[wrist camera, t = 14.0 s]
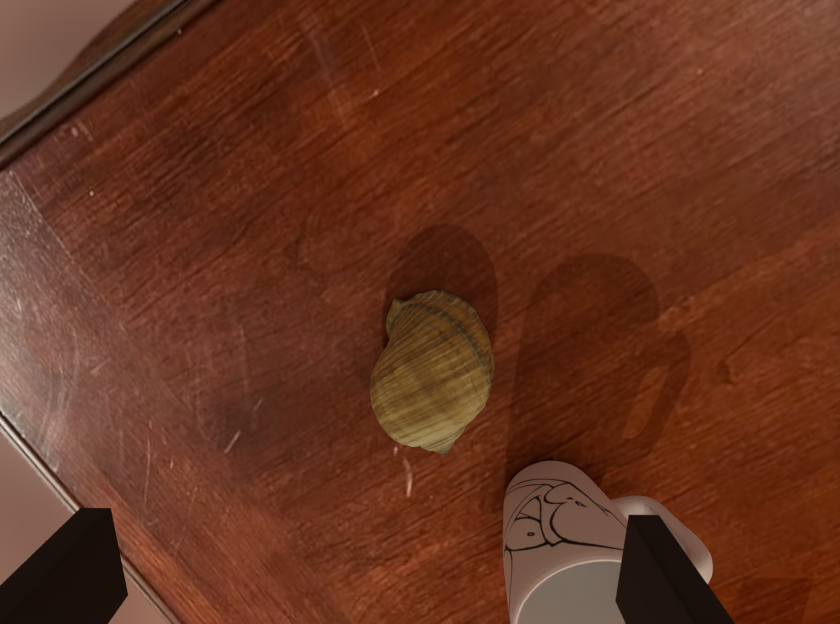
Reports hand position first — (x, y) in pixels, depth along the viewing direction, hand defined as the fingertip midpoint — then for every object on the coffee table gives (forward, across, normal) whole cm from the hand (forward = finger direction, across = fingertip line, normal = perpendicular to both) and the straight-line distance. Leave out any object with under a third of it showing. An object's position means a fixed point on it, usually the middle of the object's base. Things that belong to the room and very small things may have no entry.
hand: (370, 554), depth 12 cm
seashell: (+19, +2, -2) cm, 19 cm away
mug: (+18, +12, -12) cm, 25 cm away
